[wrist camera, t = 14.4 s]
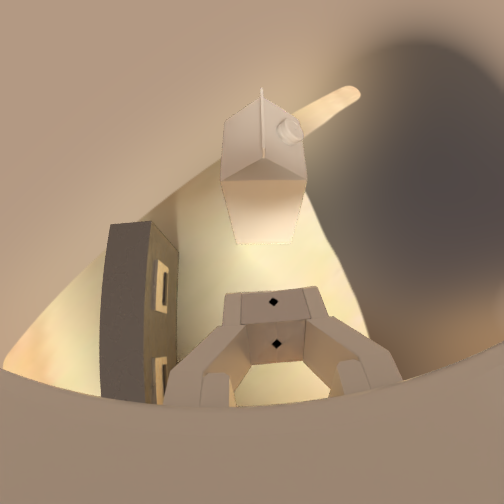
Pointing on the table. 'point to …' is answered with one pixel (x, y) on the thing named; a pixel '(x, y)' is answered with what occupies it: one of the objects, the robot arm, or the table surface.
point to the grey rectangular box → (138, 313)
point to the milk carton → (263, 173)
